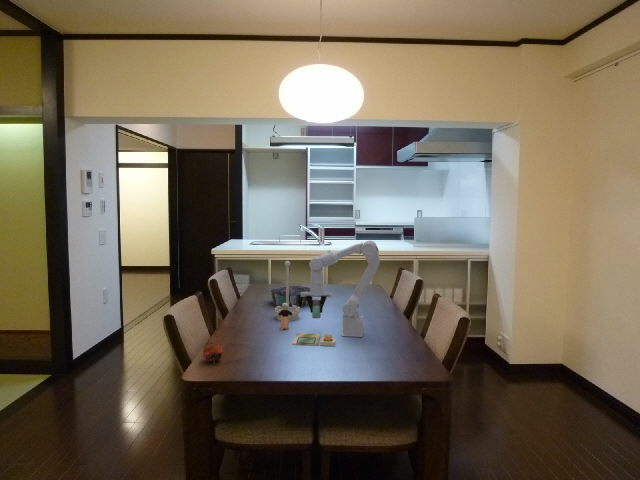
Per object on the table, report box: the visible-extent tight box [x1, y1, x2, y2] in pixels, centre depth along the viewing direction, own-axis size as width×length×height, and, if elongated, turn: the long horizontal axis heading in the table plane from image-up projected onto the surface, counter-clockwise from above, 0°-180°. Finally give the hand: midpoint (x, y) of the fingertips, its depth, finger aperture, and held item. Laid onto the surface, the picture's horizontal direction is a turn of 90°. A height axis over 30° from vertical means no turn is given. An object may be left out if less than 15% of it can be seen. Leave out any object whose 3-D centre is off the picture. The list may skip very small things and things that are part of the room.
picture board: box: [291, 332, 322, 347], centre depth 189 cm, size 11×14×1 cm
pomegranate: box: [202, 341, 224, 366], centre depth 163 cm, size 7×7×10 cm
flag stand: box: [274, 260, 301, 322], centre depth 223 cm, size 13×13×30 cm
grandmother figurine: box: [276, 303, 294, 331], centre depth 205 cm, size 8×4×13 cm, turn 105°
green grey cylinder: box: [311, 298, 322, 319], centre depth 200 cm, size 4×4×8 cm
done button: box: [323, 333, 333, 342], centre depth 185 cm, size 3×3×2 cm
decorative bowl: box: [269, 285, 310, 308], centre depth 255 cm, size 26×28×10 cm
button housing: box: [319, 336, 336, 347], centre depth 185 cm, size 6×6×2 cm
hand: (316, 312), depth 200 cm, fingers closed on green grey cylinder, 4 cm apart
